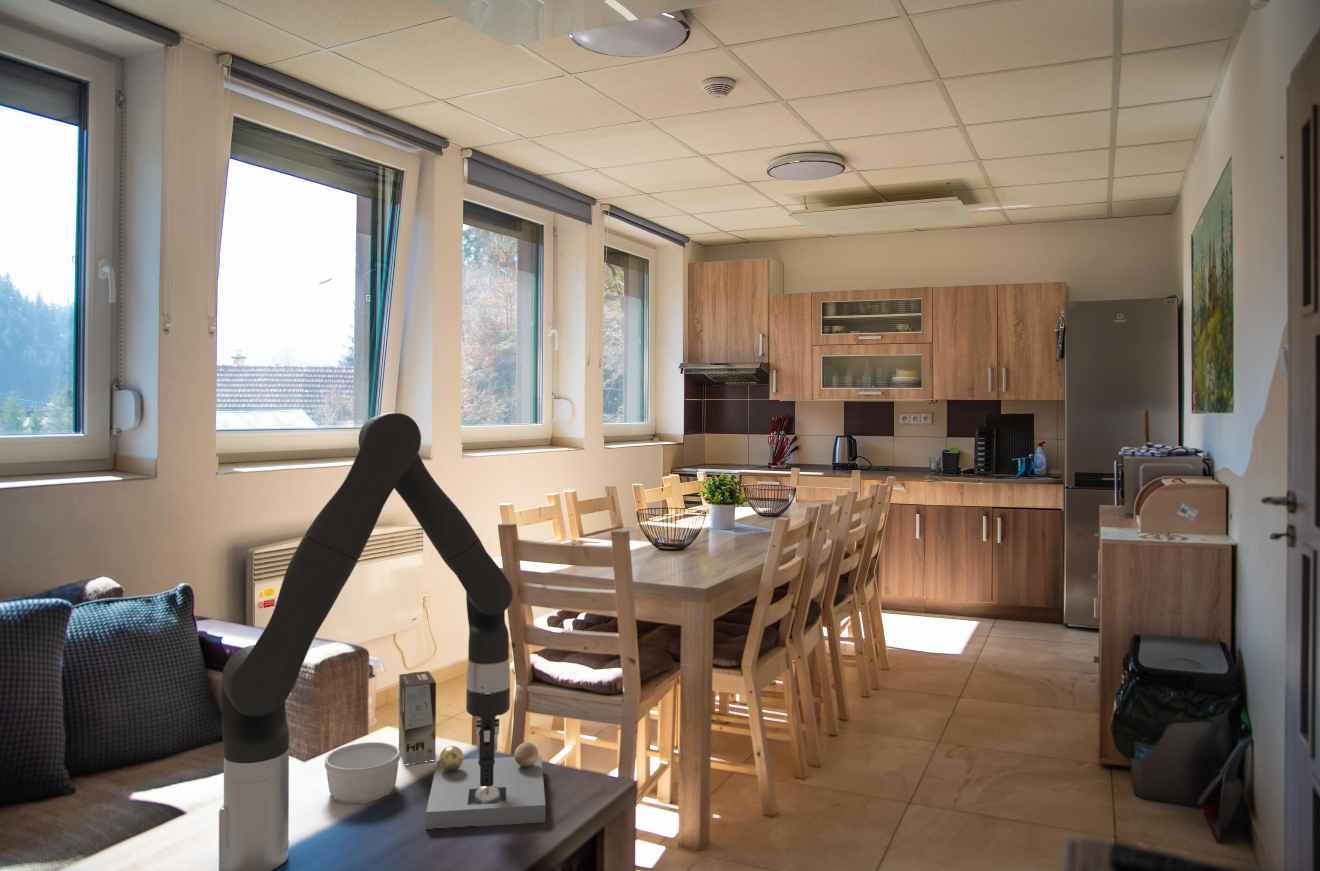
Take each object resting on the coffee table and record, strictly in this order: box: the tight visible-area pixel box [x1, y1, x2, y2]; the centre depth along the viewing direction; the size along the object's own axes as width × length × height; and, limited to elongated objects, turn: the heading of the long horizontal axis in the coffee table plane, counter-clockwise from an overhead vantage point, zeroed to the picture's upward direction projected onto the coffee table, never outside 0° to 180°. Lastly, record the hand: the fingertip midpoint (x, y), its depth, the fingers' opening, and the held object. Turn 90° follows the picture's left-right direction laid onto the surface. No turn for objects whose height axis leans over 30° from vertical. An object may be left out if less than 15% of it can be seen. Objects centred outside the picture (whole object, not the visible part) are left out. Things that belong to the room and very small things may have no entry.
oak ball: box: [514, 741, 539, 767], centre depth 166 cm, size 4×4×4 cm
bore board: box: [425, 755, 546, 829], centre depth 159 cm, size 20×22×3 cm
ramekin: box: [324, 741, 401, 804], centre depth 161 cm, size 13×13×7 cm
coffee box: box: [398, 670, 437, 766], centre depth 178 cm, size 9×6×16 cm
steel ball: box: [474, 785, 500, 805], centre depth 153 cm, size 4×4×4 cm
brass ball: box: [438, 745, 465, 771], centre depth 164 cm, size 4×4×4 cm
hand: (487, 775), depth 153 cm, fingers open, 8 cm apart
